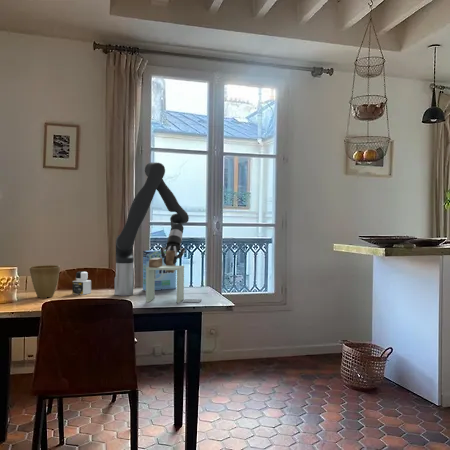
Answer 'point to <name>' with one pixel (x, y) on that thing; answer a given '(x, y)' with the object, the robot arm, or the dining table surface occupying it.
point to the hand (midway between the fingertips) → (169, 263)
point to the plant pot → (45, 279)
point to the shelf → (151, 281)
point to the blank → (170, 259)
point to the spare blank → (155, 262)
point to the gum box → (158, 272)
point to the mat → (192, 300)
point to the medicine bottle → (81, 284)
